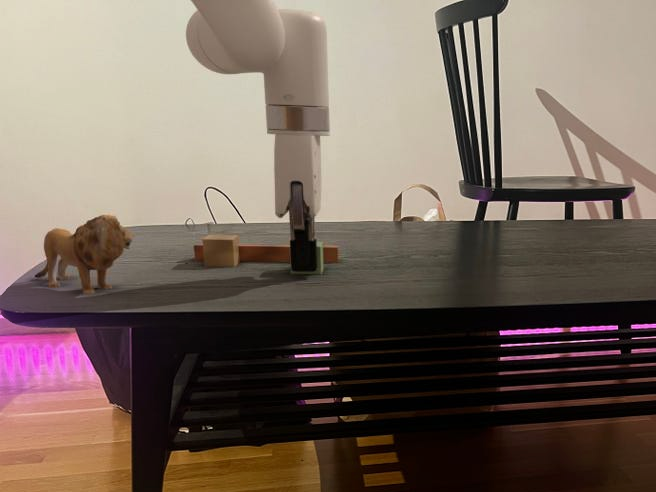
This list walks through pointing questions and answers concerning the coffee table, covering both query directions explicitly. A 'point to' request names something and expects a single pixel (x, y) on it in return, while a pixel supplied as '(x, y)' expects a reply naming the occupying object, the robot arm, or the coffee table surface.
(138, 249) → the coffee table surface
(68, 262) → the lion figurine
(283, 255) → the rail
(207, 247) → the maple block
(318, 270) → the sage block
